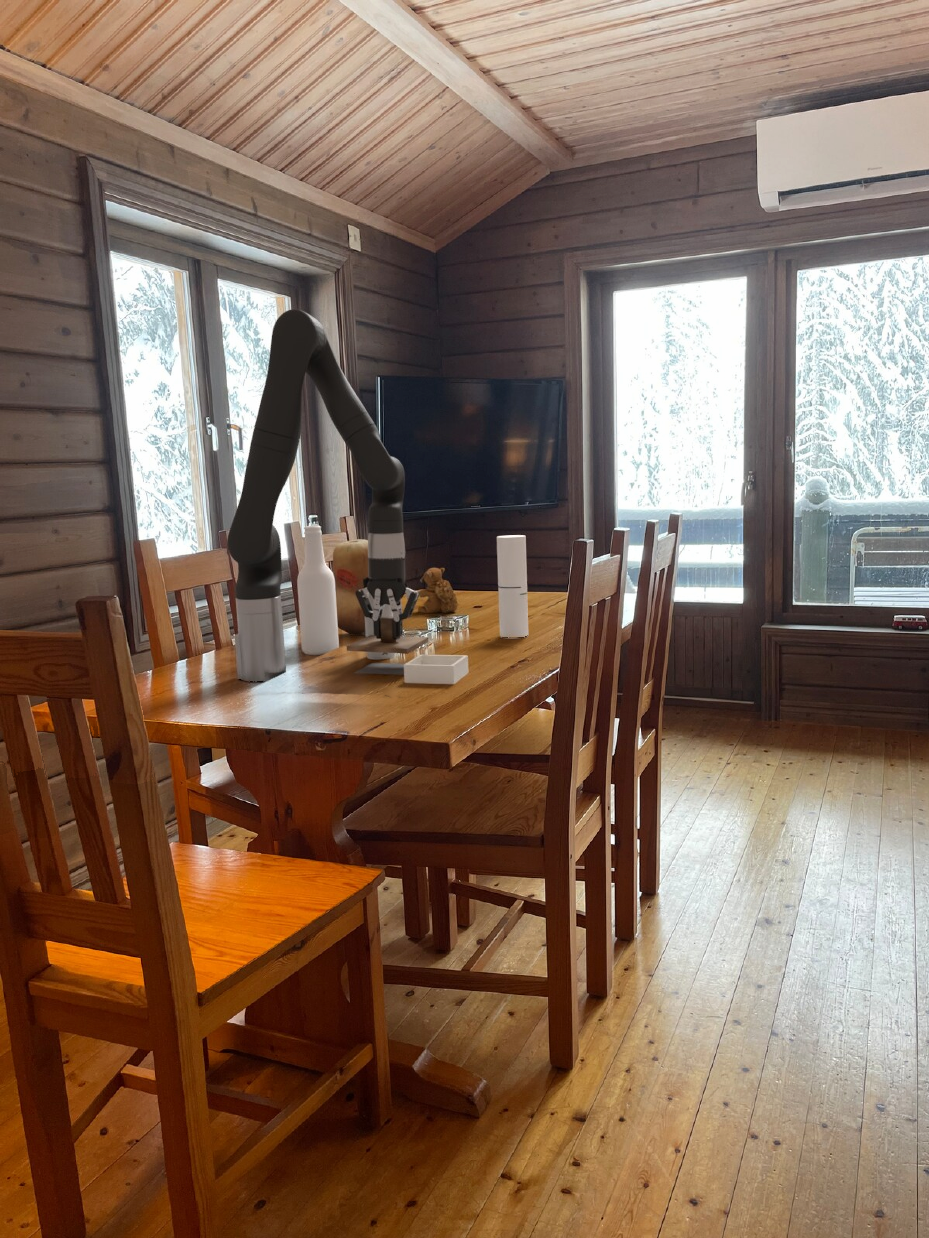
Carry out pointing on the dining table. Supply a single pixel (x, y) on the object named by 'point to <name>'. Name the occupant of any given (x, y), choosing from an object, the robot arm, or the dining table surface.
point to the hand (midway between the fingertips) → (388, 638)
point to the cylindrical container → (512, 585)
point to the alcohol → (317, 598)
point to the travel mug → (370, 626)
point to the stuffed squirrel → (437, 593)
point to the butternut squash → (350, 584)
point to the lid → (387, 641)
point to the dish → (436, 669)
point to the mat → (383, 668)
